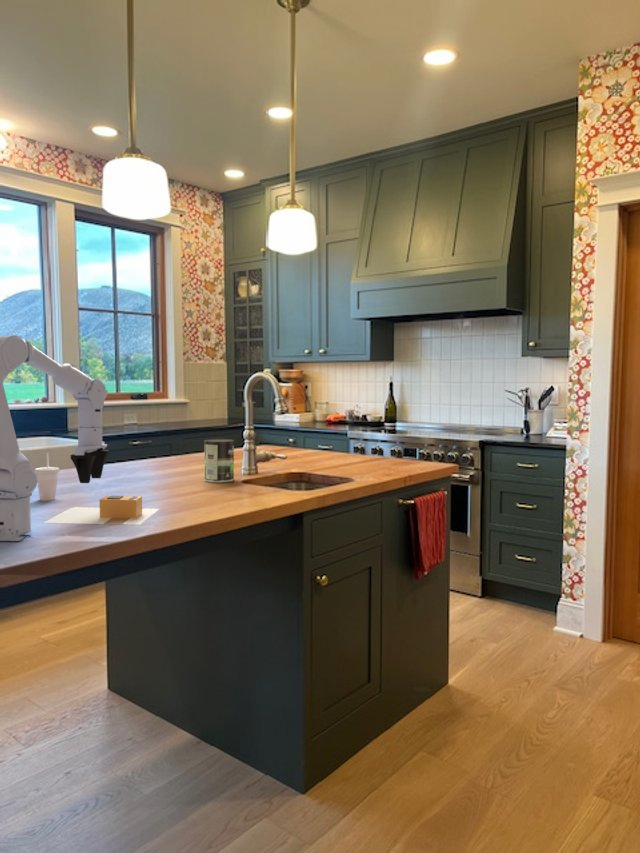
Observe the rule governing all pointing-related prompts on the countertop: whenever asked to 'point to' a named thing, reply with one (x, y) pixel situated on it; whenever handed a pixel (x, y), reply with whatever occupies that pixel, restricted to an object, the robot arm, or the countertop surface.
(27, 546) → the countertop surface
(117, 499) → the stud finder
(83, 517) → the drywall panel
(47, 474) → the smoothie
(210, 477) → the coffee can
